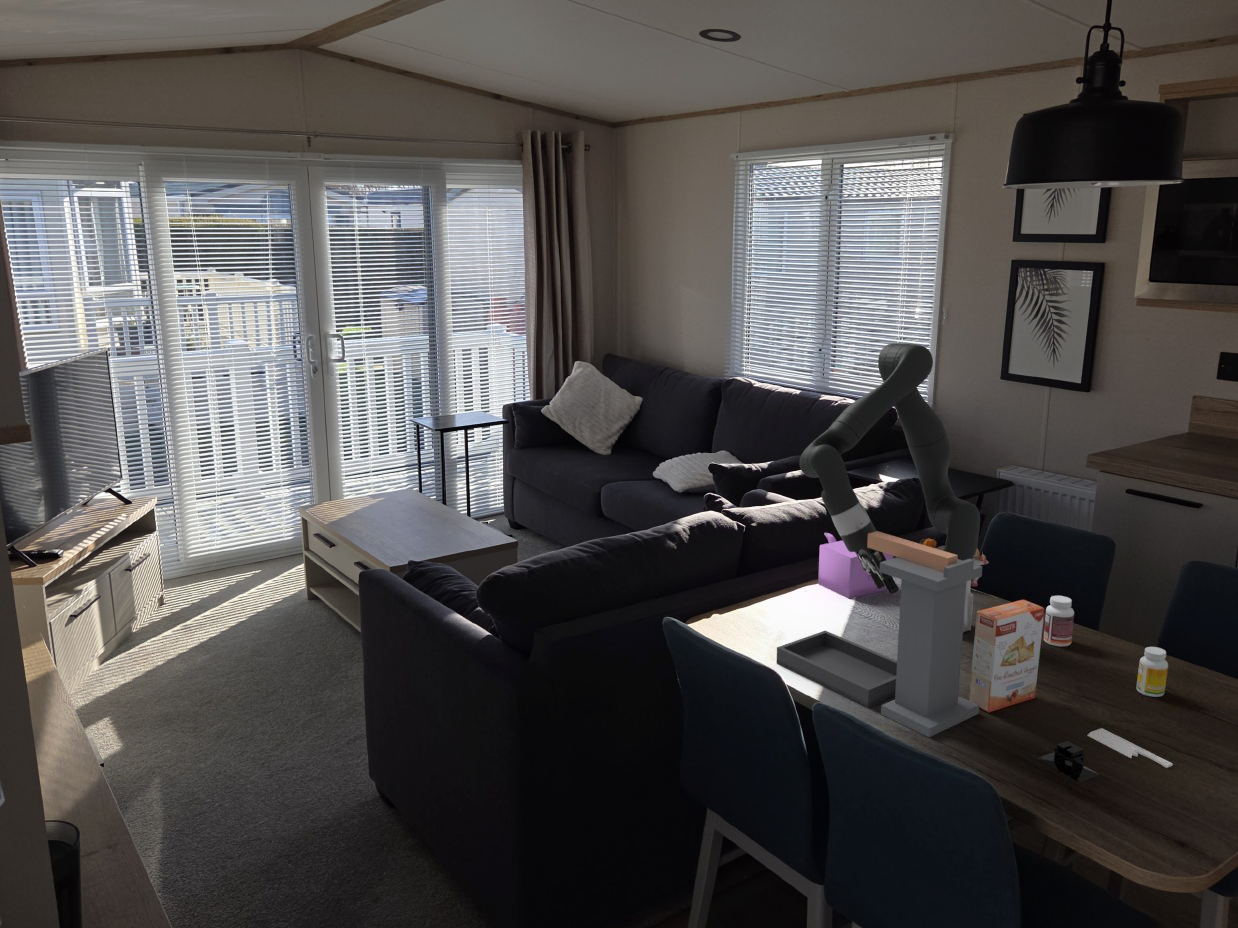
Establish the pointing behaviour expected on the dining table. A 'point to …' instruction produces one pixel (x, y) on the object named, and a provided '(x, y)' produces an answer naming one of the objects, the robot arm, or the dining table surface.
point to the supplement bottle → (1152, 672)
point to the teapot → (844, 570)
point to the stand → (930, 645)
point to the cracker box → (1006, 655)
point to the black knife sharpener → (1069, 761)
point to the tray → (841, 667)
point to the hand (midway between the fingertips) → (888, 589)
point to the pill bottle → (1059, 621)
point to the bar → (911, 550)
